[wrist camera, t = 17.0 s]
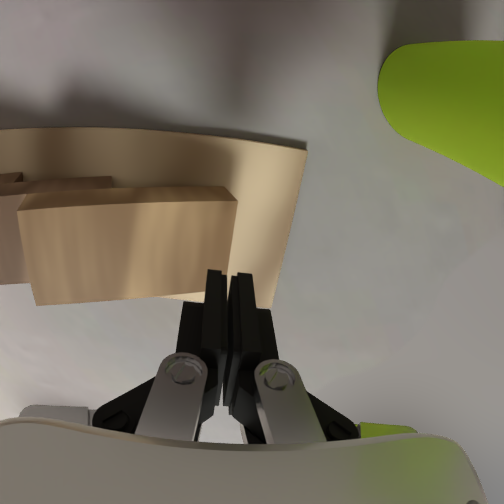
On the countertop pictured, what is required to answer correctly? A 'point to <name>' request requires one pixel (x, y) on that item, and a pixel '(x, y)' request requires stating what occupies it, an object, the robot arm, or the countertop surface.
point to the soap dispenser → (449, 100)
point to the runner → (179, 180)
